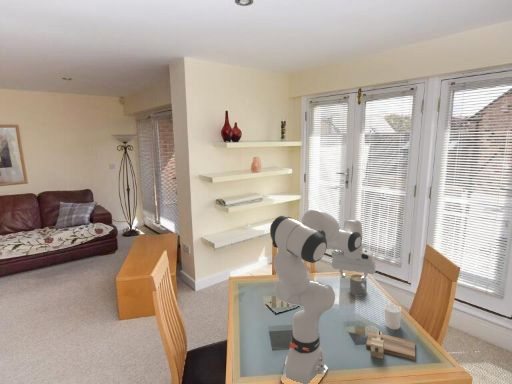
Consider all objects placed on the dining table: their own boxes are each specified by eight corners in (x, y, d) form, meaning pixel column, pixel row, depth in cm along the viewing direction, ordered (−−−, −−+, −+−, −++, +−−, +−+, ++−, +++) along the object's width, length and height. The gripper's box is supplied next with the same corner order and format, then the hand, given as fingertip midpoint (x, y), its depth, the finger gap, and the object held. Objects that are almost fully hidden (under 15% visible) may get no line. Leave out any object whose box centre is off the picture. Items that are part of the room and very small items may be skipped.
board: (415, 360, 125) (415, 356, 125) (366, 348, 135) (366, 344, 134) (414, 345, 135) (414, 341, 134) (369, 334, 144) (369, 330, 144)
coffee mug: (348, 288, 192) (348, 274, 191) (364, 288, 191) (363, 274, 190) (353, 298, 179) (353, 283, 178) (370, 298, 178) (370, 283, 177)
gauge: (382, 360, 126) (382, 348, 125) (370, 357, 128) (370, 345, 127) (385, 339, 139) (385, 328, 138) (374, 337, 142) (374, 325, 141)
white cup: (391, 332, 145) (391, 313, 144) (381, 323, 153) (381, 305, 151) (404, 328, 147) (404, 310, 146) (393, 320, 155) (393, 303, 153)
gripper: (329, 251, 142) (330, 278, 144) (374, 256, 132) (374, 285, 134) (333, 247, 147) (333, 273, 149) (376, 252, 138) (376, 279, 140)
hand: (353, 279), depth 142 cm, fingers open, 8 cm apart
